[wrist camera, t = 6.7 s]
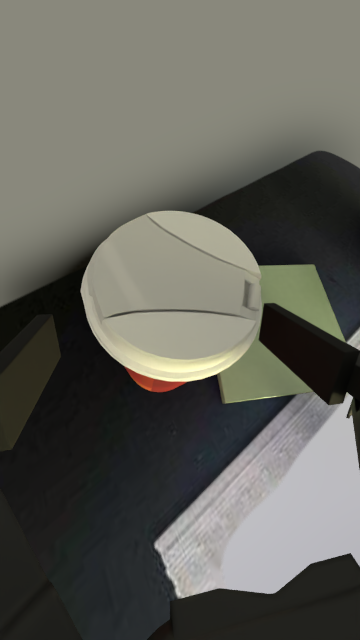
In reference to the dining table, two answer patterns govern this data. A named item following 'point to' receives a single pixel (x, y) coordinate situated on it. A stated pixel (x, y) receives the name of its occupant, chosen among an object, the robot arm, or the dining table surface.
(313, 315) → the tile
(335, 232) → the dining table surface
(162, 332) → the paper cup
